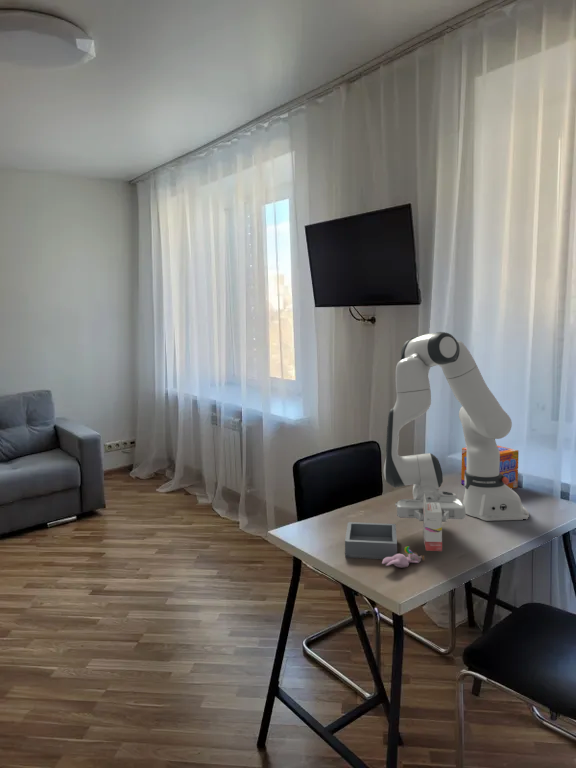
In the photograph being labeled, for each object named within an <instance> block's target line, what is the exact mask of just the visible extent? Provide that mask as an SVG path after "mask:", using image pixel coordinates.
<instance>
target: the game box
mask: <svg viewBox="0 0 576 768" xmlns="http://www.w3.org/2000/svg"><path fill="white" fill-rule="evenodd" d="M497 447H498V449H499V452H500V467H499V473H501V474H502V475H504V476H505V477H507V478H508V480H509V483H508V484H505V485H507V486H508V487H509V488H514V489H517V488H518V483H519V481H518V480H519V479H518V478H519V452H520V451H519V450H518V449H514V448H508V447H506V446H501V445H497ZM466 465H467V451H466V446H465V447H462V448H461V469H460V470H461V471H460V472H461V473H460V475H461V477H460V478H461V480H460V481H461V482H460V483H461V485H462V484H463V486H465V471H466Z"/></svg>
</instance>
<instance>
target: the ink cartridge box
mask: <svg viewBox="0 0 576 768" xmlns="http://www.w3.org/2000/svg"><path fill="white" fill-rule="evenodd" d="M423 514H424V521H422V522H423V527H422V528H423V544H424V547H425V551H428V552H429V551H431V552H442V551H443V522H442V511H441V507H440V503H426V498H425V493H424V501H423Z"/></svg>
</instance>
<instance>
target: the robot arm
mask: <svg viewBox="0 0 576 768" xmlns="http://www.w3.org/2000/svg"><path fill="white" fill-rule="evenodd" d="M400 355H401V357H400V360H399V361H397V364H396V366H395V378H394V379H395V392H396V399H395V400H396V401H395V403H394V406H393V407H392V408H391V409H389V412H388V415H387V427H386V428H387V429H386V446H385V447H386V448H385V451H386V452H385V453H386V454H385V455H386V456H385V461H384V465H383V476H384V479H385V482H386V483H387V484H389V485H390V486H391V487H393V488H401V487H405V486H412V485H413V486H412V497H413V499H411V498H404V499H403V498H402V499H399V500H398V501H397V502H395V507H396V514H397V517H398V518H405V519H406V518H407V519H416V520H418V521H419V522H423V521H424V514H423V501H424V493H425V498H426V503H440V507H441V511H442V523H443V522H444V523H446V522H447V520H449V519H450V520H464V519H466V516H467V515H468V516H470V517H474V518H478V519H480V520H482V521H485V522H486V521H488V522H489V521H490V522H493V521H522V520H523V519H526V520H528V519H529V518H528V517H530V512H529V511H528V509H527V508H526V507H524V505H523V503H522V499H521V497H520V496H519V494H518V493H517V492H516V491H515V490H514V489H511V488H509V487H508V486H507V485H505V484H508V483H509V480H508V478H507V477H505V476H504V475H502V474H501V473H499V467H500V452H499V449H498V447H497V446H498V444H497V441H496V440H500V439H503V438H505V437H506V436H507V435H508V434H509V433H510V432H511V430H512V426H513V423H512V419H511V417H510V415H509V414H508V413H507V412H506V411H505V410H504V409H503V407H502V405H501V404H500V402H499V401H498V399H497V398H496V397H495V395H494V394H493V392H492V391H491V389H489V387H488V385H487V383H486V382H485V380H484V378H483V375H482V374H481V371H480V369H479V368H478V365H477V363H476V361H475V359H474V357H473V355H472V354H471V352H470V351H469V349H468V348H467V346H466V345H465V344H464V343H463V342H462V341H460V340H457V339H456V338H455V336H453V335H452V334H451V333H448V332H446V331H445V332H444V331H438V332H433V333H431V332H430V333H425V334H423V335H419V336H417V337H412V338H410V339H408V340H407V341H405V342H404V344H403V345H402V347H401V351H400ZM435 366H436V367H437V366H439V367H440V368H441V369H442V372H443V375H444V376H445V377H444V378H445V379H446V380H447V383H448V385H449V387H450V389H451V392H452V393H453V395H454V397H455V399H456V400H457V401H458V402H459V404H460V405H461V407H460V409H459V411H458V418H459V421H460V423H461V426H462V430H463V436H464V437H463V438H464V442H465V447H466V451H467V465H466V471H465V485H464V488H465V489H464V495H463V500H461V499H459V498H458V495H457V493H456V492H455V493H454V492H449V491H443V490H440V487H441V486H442V484H443V482H444V480H443V479H444V478H443V477H444V476H443V471H442V470H443V469H442V466H441V463H440V461H439V458H437V456H436V455H435V454H433V453H430V452H428V453H417V454H411V455H402V456H401V455H399V439H400V431H401V429H402V428H403V427H404V426H405V425H407V424H408V423H410V422H413V421H414V420H417V419H418V418H420V417H421V416H423V415H425V413H426V412H428V411H429V409H430V407H431V405H432V392H431V384H430V379H429V373H430V369H431V368H433V367H435Z"/></svg>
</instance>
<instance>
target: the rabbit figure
mask: <svg viewBox="0 0 576 768" xmlns="http://www.w3.org/2000/svg"><path fill="white" fill-rule="evenodd" d="M403 551H404V552H405V554H407V556H405V555H404V554H403V553H397V554H396V555H394V556H393V557H386V558H384V559H382V562H381V564H382V565H384V564H385V566H386V567H387V566H388V567H389V566H391V565H394V566H395V567H397V568H402V569H403V568H407V567H408V566H410V565H409V564H410V563H412V564H419V563H421V560H422V561H425V555H424V554H423V555H419V554H418V552H417V551H416V552H413V551H412V550H411V549H410V546H408V545H407V546H405V547H404V550H403Z"/></svg>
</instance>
